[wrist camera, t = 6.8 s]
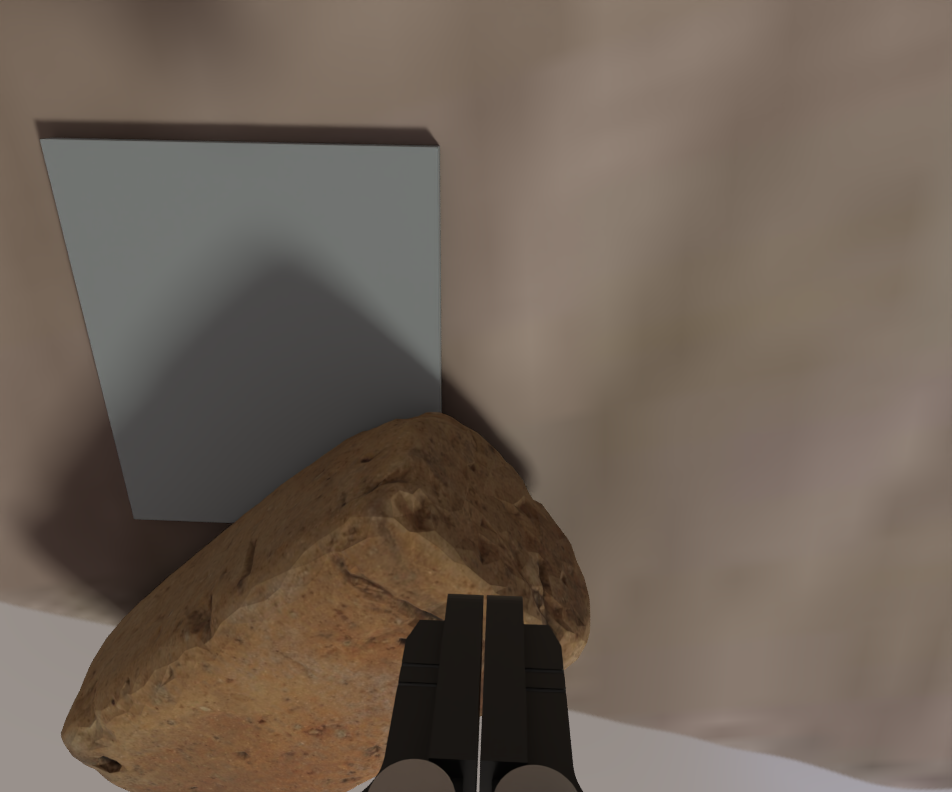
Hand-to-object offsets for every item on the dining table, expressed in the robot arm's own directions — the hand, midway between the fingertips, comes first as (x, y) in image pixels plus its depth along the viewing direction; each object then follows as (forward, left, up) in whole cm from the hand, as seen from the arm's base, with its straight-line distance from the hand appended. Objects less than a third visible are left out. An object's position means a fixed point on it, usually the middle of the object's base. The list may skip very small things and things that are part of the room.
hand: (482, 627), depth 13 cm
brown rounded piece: (+3, +1, -8) cm, 9 cm away
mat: (-1, -8, -13) cm, 16 cm away
